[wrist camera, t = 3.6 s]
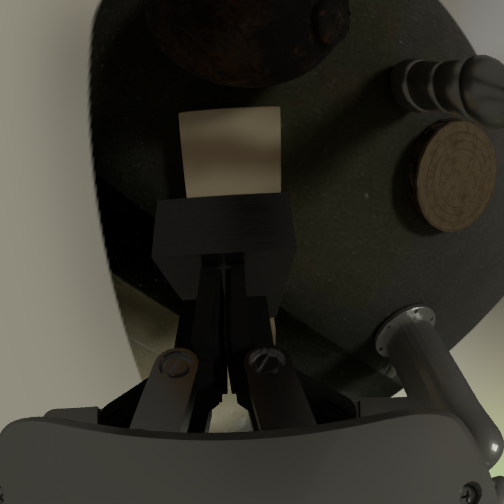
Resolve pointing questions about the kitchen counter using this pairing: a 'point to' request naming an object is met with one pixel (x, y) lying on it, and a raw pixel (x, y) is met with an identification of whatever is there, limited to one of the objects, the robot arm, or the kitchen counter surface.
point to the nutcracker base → (231, 152)
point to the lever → (226, 241)
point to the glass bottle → (247, 37)
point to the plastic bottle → (452, 88)
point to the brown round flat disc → (451, 174)
